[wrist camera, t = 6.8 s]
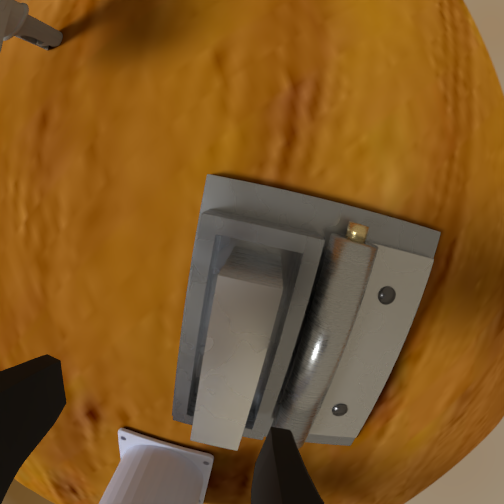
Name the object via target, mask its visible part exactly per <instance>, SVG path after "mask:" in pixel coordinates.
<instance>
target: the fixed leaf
mask: <svg viewBox="0 0 504 504" xmlns="http://www.w3.org/2000/svg"><path fill="white" fill-rule="evenodd" d="M440 234H441V232H439V231H436V230H433V229H430V228H427V227H424V226H420V225H417V224H414V223H411V222H407V221H404V220H400V219H397V218H394V217H390V216H387V215H383V214H379V213H376V212H372V211H369V210H365V209H361V208H357V207H354V206H350V205H346V204H342V203H338V202H334V201H330V200H326V199H322V198H318V197H314V196H310V195H306V194H302V193H297V192H293V191H289V190H284V189H280V188H275V187H271V186H266V185H262V184H257V183H252V182H247V181H242V180H237V179H232V178H227V177H222V176H217V175H212V174H207V178H206V183H205V188H204V193H203V199H202V204H201V209H200V215H199V220H198V226H197V232H196V237H195V243H194V249H193V255H192V262H191V268H190V274H189V281H188V287H187V294H186V301H185V308H184V315H183V323H182V330H181V338H180V346H179V354H178V363H177V372H176V381H175V390H174V401H173V411H172V415H173V420H176V421H179V422H183V423H187V424H190V425H193V419H194V412H195V406H196V400H197V393H198V387H199V381H200V375H201V368H202V362H203V356H204V350H205V345H206V339H207V333H208V327H209V321H210V316H211V310H212V305H213V299H214V294H215V288H216V283H217V277H218V274H219V272H220V271H221V269H222V267H223V265H224V264H225V262H226V260H227V259H228V257H229V255H230V254H231V252H232V250H233V248H234V247H235V246H237V247H242V248H246V249H251V250H255V251H260V252H264V253H269V254H273V255H278V256H281V264H282V279H283V292H282V296H281V300H280V304H279V307H278V311H277V315H276V319H275V323H274V326H273V330H272V334H271V337H270V341H269V345H268V348H267V352H266V356H265V359H264V363H263V366H262V370H261V373H260V377H259V380H258V384H257V387H256V391H255V394H254V398H253V401H252V404H251V408H250V411H249V414H248V418H247V421H246V424H245V428H244V431H243V434H242V436H243V437H248V438H254V439H260V440H263V437H264V436H266V437H267V435H268V432H269V430H270V427H276V428H282V429H289V430H291V432H292V434H293V437H294V440H295V442H296V445H297V448H298V449H299V448H300V447H302V446H303V444H304V442H311V443H321V444H333V445H348V446H350V445H351V444H352V442H353V441H354V439H355V438H356V437H357V435H358V434H359V432H360V430H361V428H362V427H363V425H364V423H365V421H366V420H367V418H368V416H369V414H370V412H371V410H372V409H373V407H374V405H375V403H376V401H377V399H378V397H379V395H380V393H381V391H382V389H383V387H384V385H385V383H386V381H387V379H388V377H389V375H390V373H391V371H392V369H393V366H394V364H395V362H396V360H397V358H398V355H399V353H400V351H401V349H402V346H403V344H404V342H405V339H406V337H407V334H408V332H409V330H410V327H411V325H412V322H413V319H414V317H415V314H416V312H417V309H418V306H419V304H420V301H421V298H422V295H423V292H424V289H425V287H426V284H427V281H428V278H429V275H430V271H431V268H432V265H433V262H434V259H433V258H434V255H435V252H436V248H437V245H438V241H439V237H440Z"/></svg>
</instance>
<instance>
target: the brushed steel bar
mask: <svg viewBox="0 0 504 504" xmlns="http://www.w3.org/2000/svg"><path fill="white" fill-rule="evenodd" d="M282 292H283V279H282V264H281V256H278V255H273V254H269V253H264V252H260V251H255V250H251V249H246V248H242V247H237V246H235V247H234V248H233V250H232V252H231V254H230V255H229V257H228V259H227V260H226V262H225V264H224V265H223V267H222V269H221V271H220V272H219V274H218V277H217V283H216V288H215V294H214V299H213V305H212V310H211V316H210V321H209V327H208V333H207V339H206V345H205V350H204V356H203V362H202V368H201V375H200V381H199V387H198V393H197V400H196V406H195V412H194V419H193V426H192V432H191V439H190V440H192V441H196V442H200V443H204V444H208V445H212V446H217V447H221V448H226V449H231V450H236V451H237V450H238V447H239V444H240V441H241V437H242V434H243V431H244V428H245V424H246V421H247V418H248V414H249V411H250V408H251V404H252V401H253V398H254V394H255V391H256V387H257V384H258V380H259V377H260V373H261V370H262V366H263V363H264V359H265V356H266V352H267V348H268V345H269V341H270V337H271V334H272V330H273V326H274V323H275V319H276V315H277V311H278V307H279V304H280V300H281V296H282Z"/></svg>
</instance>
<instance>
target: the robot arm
mask: <svg viewBox="0 0 504 504" xmlns="http://www.w3.org/2000/svg"><path fill="white" fill-rule="evenodd" d="M65 404H66V397H65V391H64V384H63V377H62V370H61V361H60V360H58V359H56V358H54V357H52V356H50V355H48V354H47V355H44V356H41V357H38V358H35V359H32V360H30V361H27V362H24V363H22V364H19V365H17V366H14V367H11V368H8V369H6V370H3V371H0V504H1V503H2V501H3V499H4V496H5V494H6V492H7V490H8V488H9V486H10V484H11V482H12V481H13V479H14V477H15V475H16V474H17V472H18V470H19V468H20V467H21V466H22V464H23V463H24V461H25V460H26V459H27V457H28V456H29V455H30V454H31V452H32V451H33V450H34V449H35V447H36V446H37V445H38V444H39V442H40V441H41V440H42V439H43V437H44V436H45V435H46V434H47V432H48V431H49V430H50V429H51V427H52V426H53V425H54V423H55V422H56V420H57V418H58V417H59V415H60V413H61V412H62V410H63V408H64V406H65ZM118 440H119V449H120V457H121V461H120V463H119V465H118V467H117V469H116V471H115V473H114V475H113V477H112V479H111V481H110V483H109V485H108V486H107V488H106V490H105V492H104V494H103V496H102V498H101V500H100V502H99V504H203V501H204V497H205V493H206V489H207V485H208V481H209V477H210V473H211V469H212V464H213V460H214V457H213V455H211V454H209V453H205V452H201V451H197V450H193V449H189V448H185V447H181V446H178V445H174V444H171V443H167V442H164V441H161V440H158V439H154V438H151V437H148V436H145V435H142V434H139V433H136V432H133V431H131V430H128V429H125V428H120V429H119V430H118ZM251 504H324V502H323V500H322V499H321V497H320V495H319V493H318V492H317V490H316V488H315V486H314V484H313V482H312V480H311V478H310V476H309V474H308V472H307V469H306V467H305V465H304V463H303V460H302V458H301V455H300V453H299V450H298V448H297V445H296V442H295V440H294V437H293V434H292V432H291V430H289V429H282V428H276V427H270V430H269V432H268V435H267V437H266V440H265V442H264V444H263V447H262V449H261V452H260V454H259V456H258V459H257V461H256V463H255V469H254V476H253V482H252V489H251Z"/></svg>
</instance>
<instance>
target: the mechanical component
mask: <svg viewBox="0 0 504 504" xmlns="http://www.w3.org/2000/svg"><path fill="white" fill-rule="evenodd" d="M28 12H29V8H28V5H27V4H25V3H19V2H17V1H15V0H0V51H1V48H2V43H3V41H5V40H8V39H10V38H12V37H13V36H16V37H18V38H21V39H23V40H25V41H28V42H30V43H32V44H35V45H37V46H39V47H41V48H44V49H46V50H48V47H49V45H50V46H52V47H55V46H58V45H59V44H60V43H61V41H62V38H63V35H62V33H61V32H60V31H58V30H56V29H54V28H52V27H50V26H49V25H47V24H45V23H43V22H41V21H39V20H37V19H36V18H34V17H32V16H30V15H28Z"/></svg>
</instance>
